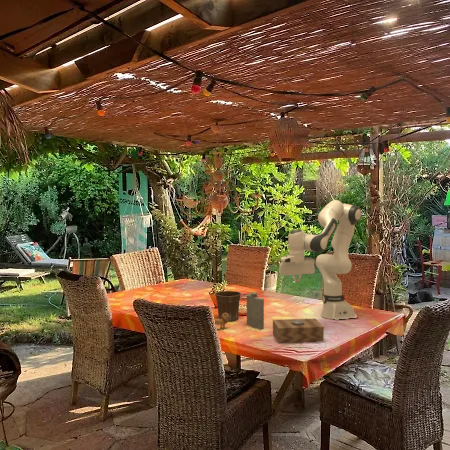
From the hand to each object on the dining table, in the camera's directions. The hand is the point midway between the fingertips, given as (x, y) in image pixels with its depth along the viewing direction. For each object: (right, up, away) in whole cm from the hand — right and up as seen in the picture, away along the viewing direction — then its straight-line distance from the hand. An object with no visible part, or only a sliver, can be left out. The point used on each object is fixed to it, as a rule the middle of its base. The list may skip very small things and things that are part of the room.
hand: (297, 282), depth 265 cm
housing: (-2, -28, -15) cm, 32 cm away
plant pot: (-39, -26, +24) cm, 53 cm away
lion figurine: (-45, -28, +2) cm, 53 cm away
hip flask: (-24, -27, +8) cm, 37 cm away
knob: (-2, -26, -15) cm, 30 cm away
